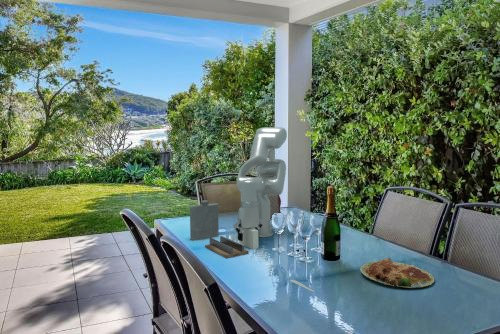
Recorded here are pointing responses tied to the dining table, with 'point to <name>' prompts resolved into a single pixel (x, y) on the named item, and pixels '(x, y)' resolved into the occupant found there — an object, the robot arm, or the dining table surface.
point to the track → (226, 247)
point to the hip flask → (204, 221)
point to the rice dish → (396, 273)
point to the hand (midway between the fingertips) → (248, 239)
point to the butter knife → (301, 285)
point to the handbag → (274, 204)
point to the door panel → (250, 238)
